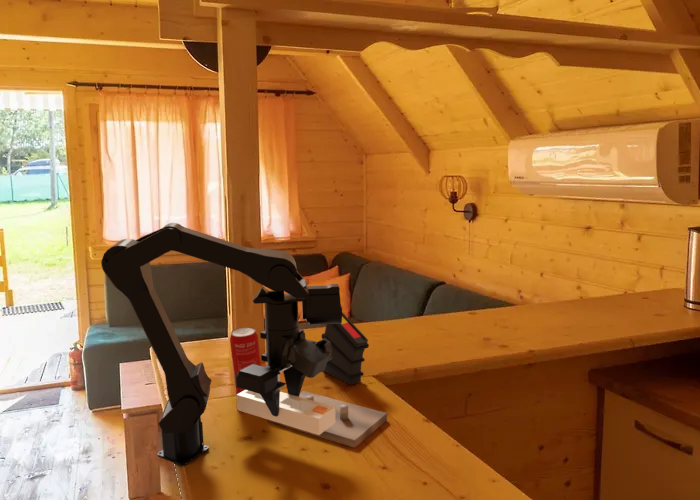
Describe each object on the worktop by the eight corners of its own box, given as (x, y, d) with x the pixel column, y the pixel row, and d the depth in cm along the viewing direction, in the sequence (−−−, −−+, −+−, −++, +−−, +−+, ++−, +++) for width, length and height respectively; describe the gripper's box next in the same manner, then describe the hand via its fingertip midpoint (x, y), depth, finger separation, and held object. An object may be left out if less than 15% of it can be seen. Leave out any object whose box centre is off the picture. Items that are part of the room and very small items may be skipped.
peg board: (354, 447, 109) (354, 427, 108) (267, 420, 119) (266, 401, 119) (386, 420, 119) (386, 401, 118) (303, 397, 129) (302, 379, 129)
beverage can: (269, 394, 131) (266, 328, 128) (249, 406, 125) (246, 337, 122) (247, 389, 134) (244, 323, 131) (227, 400, 128) (223, 332, 125)
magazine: (324, 356, 147) (340, 308, 140) (356, 395, 140) (375, 346, 132) (311, 360, 145) (327, 312, 137) (343, 399, 137) (362, 350, 130)
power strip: (319, 435, 102) (318, 416, 101) (237, 410, 111) (236, 392, 110) (335, 422, 106) (335, 404, 105) (255, 399, 115) (254, 382, 115)
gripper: (286, 351, 93) (289, 445, 96) (350, 318, 109) (351, 399, 112) (231, 338, 99) (235, 427, 102) (299, 308, 115) (301, 386, 118)
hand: (284, 409), depth 108 cm, fingers closed on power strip, 5 cm apart
